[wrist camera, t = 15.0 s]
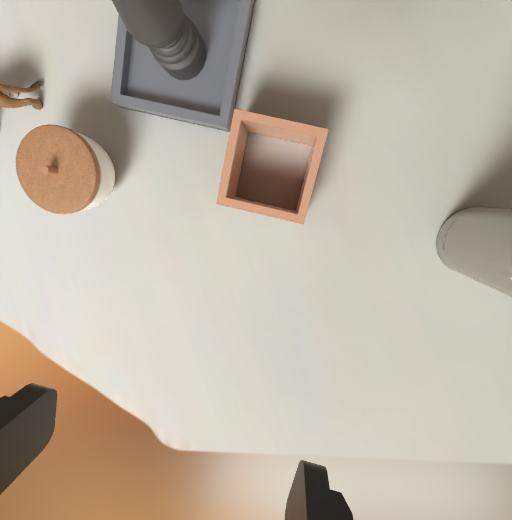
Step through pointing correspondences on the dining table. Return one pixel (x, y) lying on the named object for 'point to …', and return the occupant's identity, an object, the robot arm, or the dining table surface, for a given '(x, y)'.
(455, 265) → the robot arm
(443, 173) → the dining table surface
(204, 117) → the tray
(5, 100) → the lion figurine
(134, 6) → the candle holder
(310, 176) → the square copper bin
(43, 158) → the lidded jar
